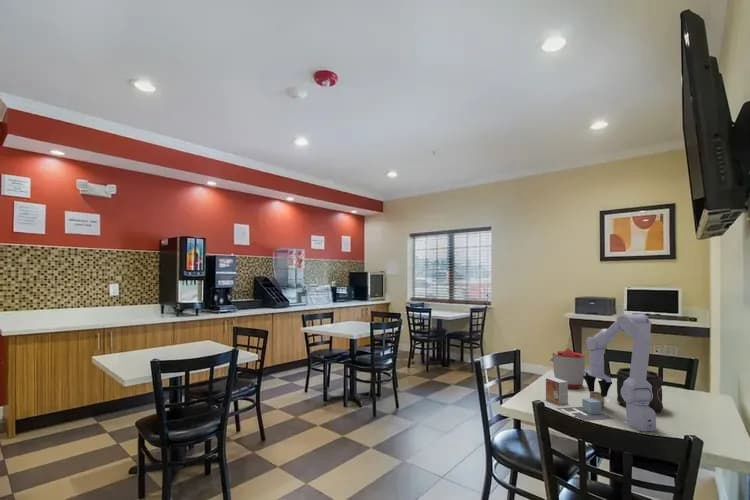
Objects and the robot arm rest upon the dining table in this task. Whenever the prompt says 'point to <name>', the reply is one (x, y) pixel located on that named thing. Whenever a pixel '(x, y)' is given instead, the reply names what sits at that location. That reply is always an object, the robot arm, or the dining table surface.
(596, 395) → the maple block
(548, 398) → the small box
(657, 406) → the wooden barrel
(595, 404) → the blue cube
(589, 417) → the letter mat
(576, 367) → the citrus juicer
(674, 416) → the dining table surface
